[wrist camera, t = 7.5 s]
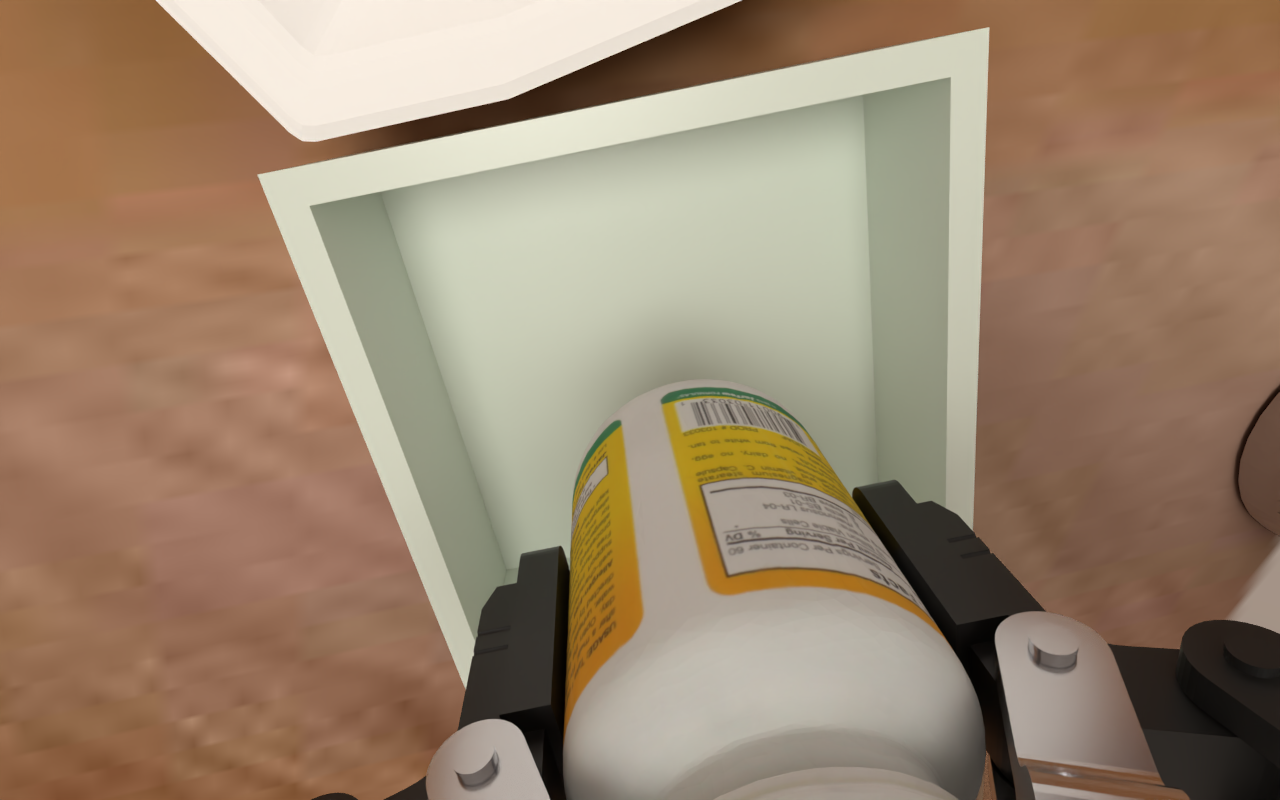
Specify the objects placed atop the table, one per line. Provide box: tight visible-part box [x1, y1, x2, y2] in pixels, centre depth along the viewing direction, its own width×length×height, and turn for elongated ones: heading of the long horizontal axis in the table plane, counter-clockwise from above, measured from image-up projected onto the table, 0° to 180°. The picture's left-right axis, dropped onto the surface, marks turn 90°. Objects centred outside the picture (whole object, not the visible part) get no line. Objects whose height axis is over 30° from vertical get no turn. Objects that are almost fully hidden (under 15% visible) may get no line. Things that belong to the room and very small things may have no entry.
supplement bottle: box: [563, 379, 986, 800], centre depth 10 cm, size 5×5×10 cm
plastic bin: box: [258, 27, 989, 689], centre depth 20 cm, size 16×16×6 cm
